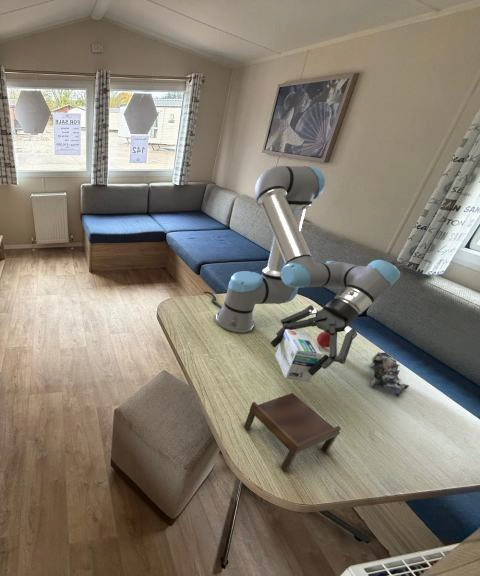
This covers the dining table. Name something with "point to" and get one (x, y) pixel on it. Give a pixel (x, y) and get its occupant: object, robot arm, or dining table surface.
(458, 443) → the dining table surface
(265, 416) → the wooden step stool
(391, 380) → the grey rugged figurine
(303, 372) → the light bulb box
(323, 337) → the onion
